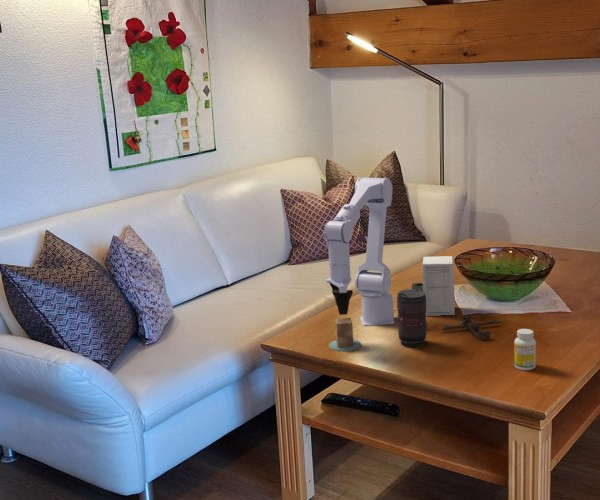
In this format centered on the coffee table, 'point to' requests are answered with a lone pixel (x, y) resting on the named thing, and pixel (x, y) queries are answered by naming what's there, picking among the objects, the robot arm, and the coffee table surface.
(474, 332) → the dark cross-shaped bracket
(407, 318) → the camera lens
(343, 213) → the robot arm
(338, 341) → the walnut block
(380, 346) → the coffee table surface
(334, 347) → the coaster
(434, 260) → the supplement box
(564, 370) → the coffee table surface
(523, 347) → the supplement bottle
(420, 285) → the vhs tape
